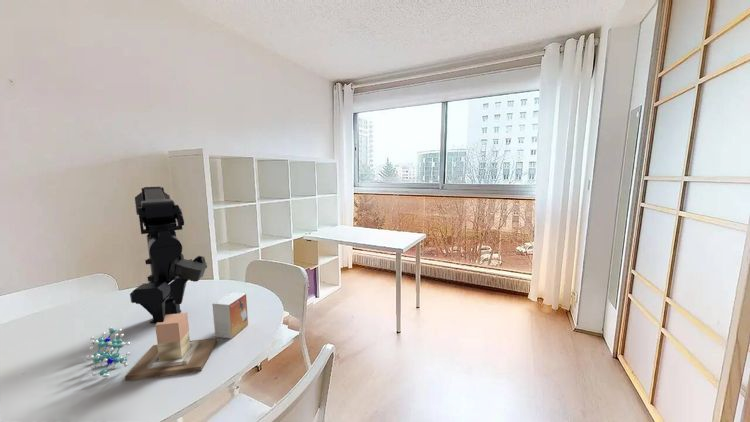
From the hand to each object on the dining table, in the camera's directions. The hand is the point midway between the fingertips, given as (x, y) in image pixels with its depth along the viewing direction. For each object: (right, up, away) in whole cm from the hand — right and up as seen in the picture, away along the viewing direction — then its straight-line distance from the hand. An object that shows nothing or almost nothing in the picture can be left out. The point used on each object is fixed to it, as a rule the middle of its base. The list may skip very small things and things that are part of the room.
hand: (170, 312), depth 71 cm
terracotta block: (0, -7, +1) cm, 7 cm away
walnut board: (0, -13, +2) cm, 13 cm away
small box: (+8, -11, +15) cm, 20 cm away
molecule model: (-16, -13, +1) cm, 21 cm away
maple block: (0, -12, +2) cm, 12 cm away
